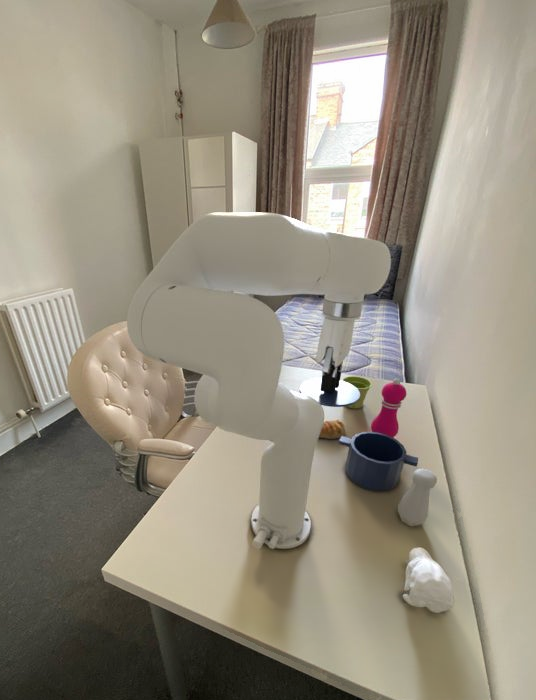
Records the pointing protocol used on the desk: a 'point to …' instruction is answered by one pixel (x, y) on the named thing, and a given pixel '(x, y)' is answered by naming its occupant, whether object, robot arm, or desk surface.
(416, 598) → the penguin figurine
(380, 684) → the desk surface
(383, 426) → the pepper mill
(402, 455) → the pot
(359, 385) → the plant pot
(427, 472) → the salt shaker
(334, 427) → the pastry
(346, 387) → the lid
